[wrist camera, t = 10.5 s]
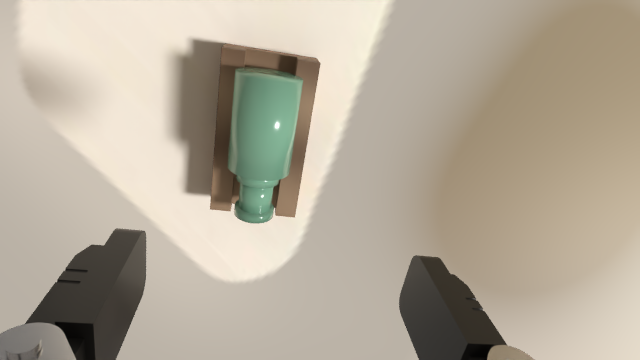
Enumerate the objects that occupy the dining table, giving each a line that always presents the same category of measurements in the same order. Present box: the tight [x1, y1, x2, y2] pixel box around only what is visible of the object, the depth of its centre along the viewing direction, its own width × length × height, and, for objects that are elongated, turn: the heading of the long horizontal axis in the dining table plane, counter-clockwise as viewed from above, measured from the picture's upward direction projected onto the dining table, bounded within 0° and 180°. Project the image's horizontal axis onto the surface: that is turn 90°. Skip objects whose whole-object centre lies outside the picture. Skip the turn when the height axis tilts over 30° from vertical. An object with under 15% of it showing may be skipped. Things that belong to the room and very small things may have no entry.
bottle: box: [228, 67, 303, 223], centre depth 26 cm, size 9×4×4 cm, turn 170°
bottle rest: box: [210, 43, 320, 217], centre depth 28 cm, size 11×6×2 cm, turn 170°
